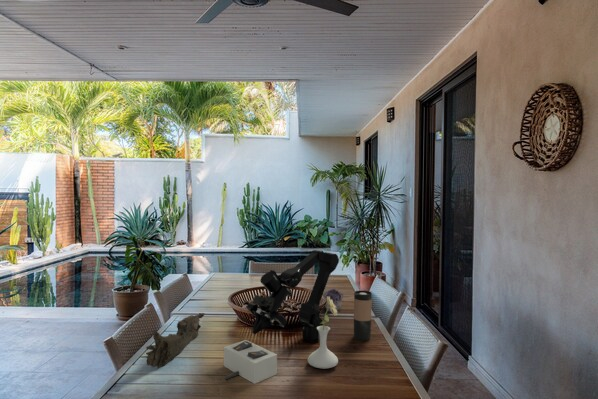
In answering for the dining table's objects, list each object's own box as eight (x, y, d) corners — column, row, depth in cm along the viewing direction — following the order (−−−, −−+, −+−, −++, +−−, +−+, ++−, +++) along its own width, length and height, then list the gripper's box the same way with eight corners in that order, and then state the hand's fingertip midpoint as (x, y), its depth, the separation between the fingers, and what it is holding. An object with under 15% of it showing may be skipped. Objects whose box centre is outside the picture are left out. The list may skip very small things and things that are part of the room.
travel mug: (372, 336, 176) (373, 291, 175) (368, 342, 169) (369, 295, 168) (356, 333, 179) (357, 289, 178) (351, 339, 172) (351, 293, 172)
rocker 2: (260, 353, 142) (261, 350, 142) (267, 357, 139) (267, 353, 139) (247, 355, 137) (248, 351, 138) (254, 358, 135) (254, 355, 135)
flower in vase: (329, 374, 139) (330, 304, 138) (301, 366, 145) (302, 299, 144) (345, 361, 150) (346, 296, 149) (319, 354, 156) (320, 291, 155)
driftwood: (143, 375, 132) (143, 331, 134) (196, 340, 184) (196, 309, 186) (158, 375, 132) (158, 331, 134) (207, 340, 184) (207, 309, 186)
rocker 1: (246, 343, 148) (245, 340, 148) (251, 345, 146) (251, 343, 145) (233, 350, 144) (232, 347, 144) (238, 353, 142) (238, 350, 141)
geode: (345, 313, 208) (343, 295, 207) (323, 315, 208) (321, 297, 208) (343, 301, 228) (341, 284, 227) (323, 303, 229) (321, 286, 228)
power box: (245, 357, 152) (245, 339, 151) (276, 374, 139) (277, 354, 139) (211, 370, 141) (211, 350, 141) (242, 389, 128) (242, 367, 128)
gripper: (250, 282, 158) (226, 315, 151) (281, 291, 145) (257, 328, 137) (265, 298, 164) (242, 331, 156) (296, 309, 151) (274, 345, 143)
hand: (253, 333), depth 148 cm, fingers closed
